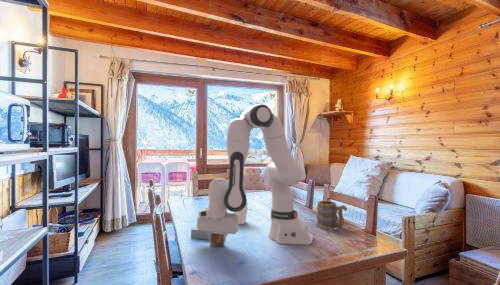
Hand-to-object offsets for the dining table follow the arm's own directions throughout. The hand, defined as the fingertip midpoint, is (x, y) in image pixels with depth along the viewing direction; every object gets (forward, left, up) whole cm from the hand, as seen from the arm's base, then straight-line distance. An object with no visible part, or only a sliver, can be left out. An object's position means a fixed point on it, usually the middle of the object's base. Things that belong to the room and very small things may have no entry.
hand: (217, 240), depth 113 cm
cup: (-1, -34, -2) cm, 34 cm away
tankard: (-55, -39, -2) cm, 67 cm away
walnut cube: (0, 0, -2) cm, 2 cm away
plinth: (+11, -10, -2) cm, 15 cm away
